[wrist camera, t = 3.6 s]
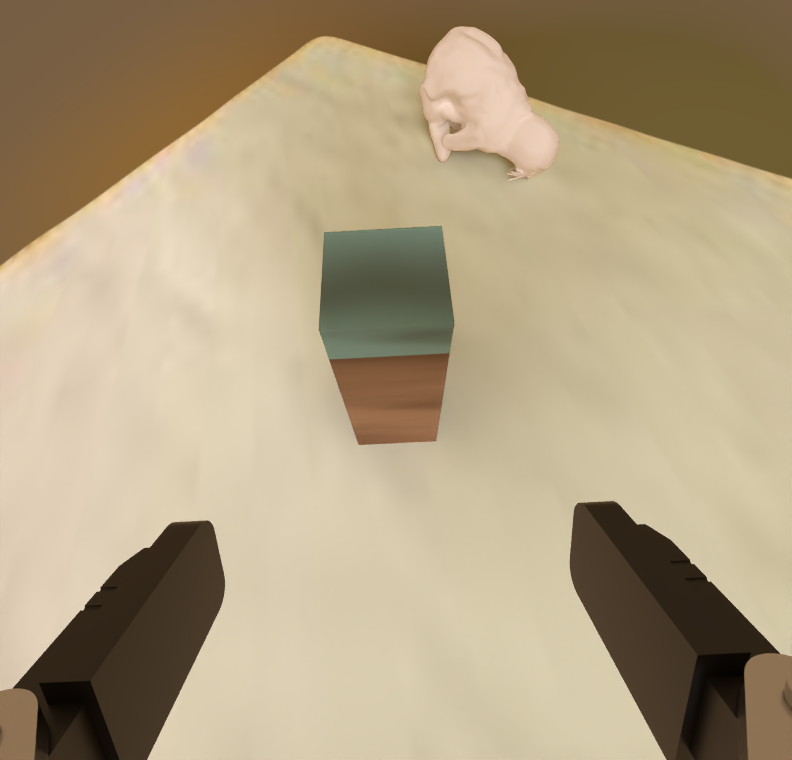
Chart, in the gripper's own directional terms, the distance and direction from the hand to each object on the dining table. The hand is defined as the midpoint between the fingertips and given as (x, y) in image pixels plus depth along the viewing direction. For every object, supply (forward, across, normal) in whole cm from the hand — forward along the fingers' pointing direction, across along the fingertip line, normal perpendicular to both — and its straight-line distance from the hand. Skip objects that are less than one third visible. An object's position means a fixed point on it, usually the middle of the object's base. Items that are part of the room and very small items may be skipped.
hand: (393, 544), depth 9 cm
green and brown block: (+16, 0, +3) cm, 17 cm away
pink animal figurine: (+33, -9, -14) cm, 37 cm away
